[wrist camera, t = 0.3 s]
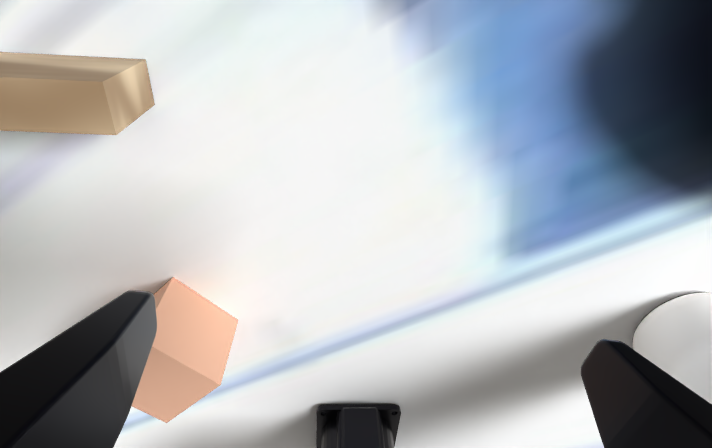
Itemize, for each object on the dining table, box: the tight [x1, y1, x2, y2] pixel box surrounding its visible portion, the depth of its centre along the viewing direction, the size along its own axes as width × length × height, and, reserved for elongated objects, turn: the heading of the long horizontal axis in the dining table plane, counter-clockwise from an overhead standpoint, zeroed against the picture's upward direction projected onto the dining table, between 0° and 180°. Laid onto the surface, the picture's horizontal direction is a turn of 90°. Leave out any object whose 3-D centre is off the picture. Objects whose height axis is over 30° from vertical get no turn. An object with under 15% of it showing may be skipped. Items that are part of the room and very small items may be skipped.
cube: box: [132, 277, 238, 423], centre depth 25 cm, size 5×5×5 cm
